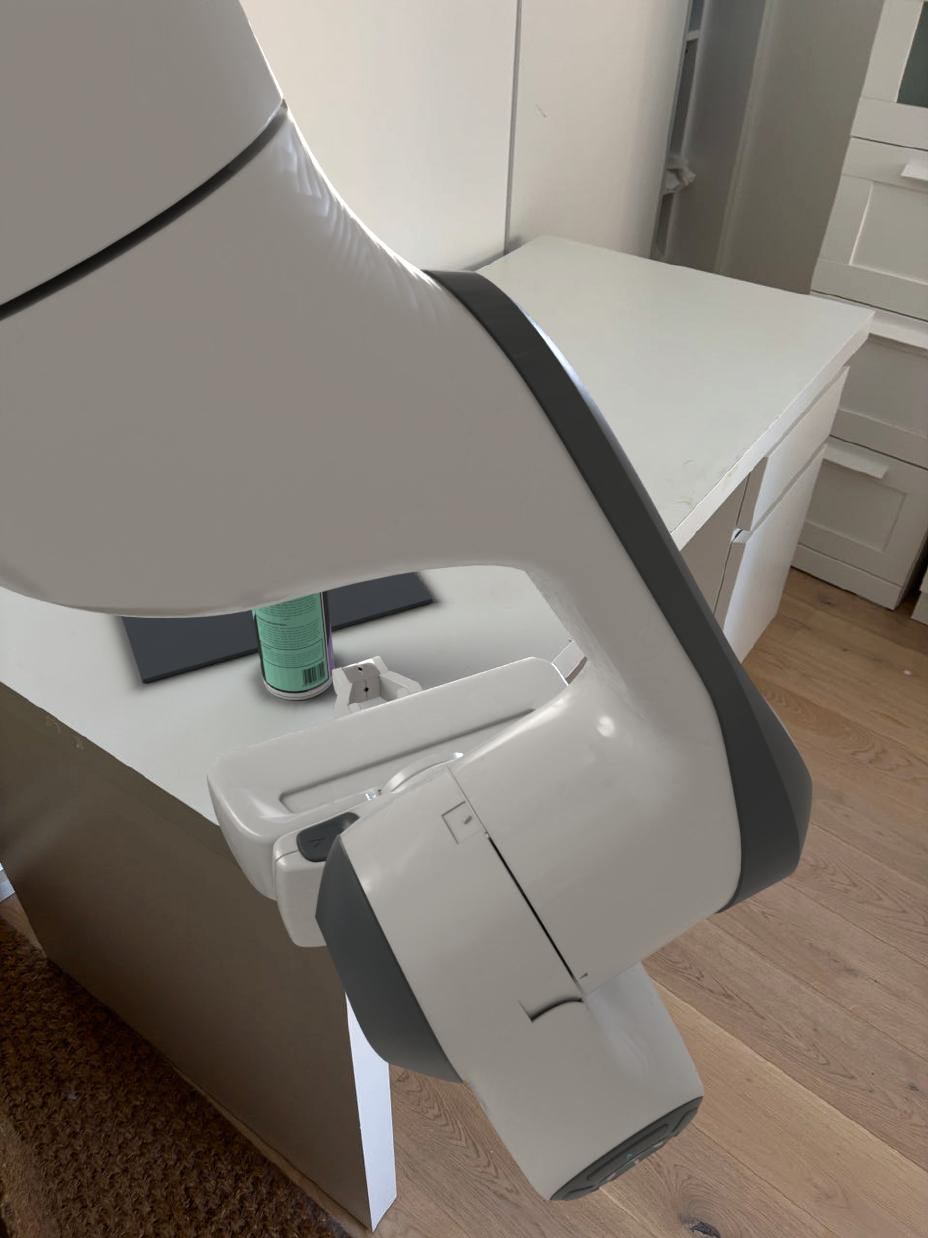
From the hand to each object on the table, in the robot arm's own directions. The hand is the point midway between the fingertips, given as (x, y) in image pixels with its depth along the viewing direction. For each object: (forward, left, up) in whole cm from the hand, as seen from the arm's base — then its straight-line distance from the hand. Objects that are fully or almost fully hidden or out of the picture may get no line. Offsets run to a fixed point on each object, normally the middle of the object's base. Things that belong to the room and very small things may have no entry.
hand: (355, 670), depth 57 cm
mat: (+1, +30, -12) cm, 32 cm away
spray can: (0, +14, -12) cm, 19 cm away
